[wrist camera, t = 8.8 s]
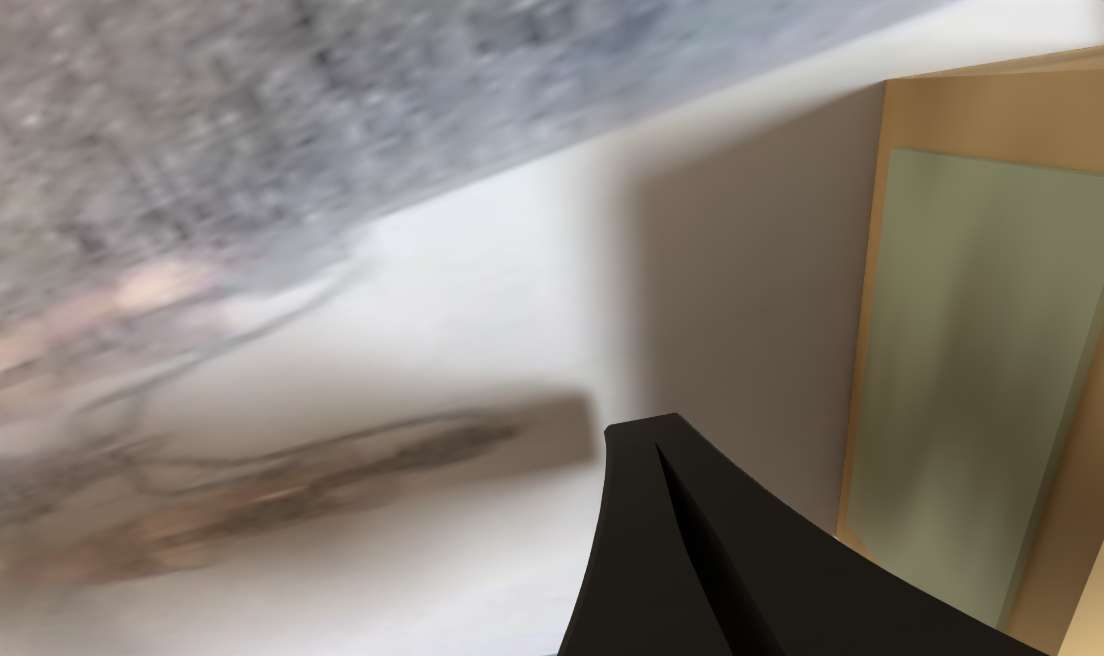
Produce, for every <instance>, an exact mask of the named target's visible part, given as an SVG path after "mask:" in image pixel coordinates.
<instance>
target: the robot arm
mask: <svg viewBox="0 0 1104 656" xmlns="http://www.w3.org/2000/svg"><path fill="white" fill-rule="evenodd" d="M604 435H605V441H606V470H605V481H604V487H603V494H602V501H601V508H600V513H599V518H598V523H597V527H596V531H595V536H594V540H593V544H592V549H591V553H590V557H589V561H588V565H587V568H586V572H585V575H584V579H583V582H582V585H581V589H580V592H579V595H578V598H577V601H576V604H575V607H574V610H573V613H572V616H571V619H570V622H569V625H568V627H567V630H566V633H565V635H564V638H563V641H562V643H561V646H560V649H559V651H558V654H557V656H1050V655H1048V654H1046V653H1044V652H1041V651H1039V650H1037V649H1035V648H1033V647H1031V646H1029V645H1027V644H1025V643H1022V642H1020V641H1018V640H1016V639H1014V638H1012V637H1010V636H1008V635H1006V634H1004V633H1002V632H1000V631H998V630H996V629H994V628H992V627H990V626H988V625H986V624H984V623H982V622H981V621H979V620H977V619H975V618H973V617H971V616H969V615H967V614H966V613H964V612H962V611H960V610H958V609H956V608H954V607H952V606H950V605H949V604H947V603H945V602H943V601H941V600H939V599H937V598H935V597H934V596H932V595H930V594H928V593H926V592H924V591H922V590H920V589H918V588H917V587H915V586H913V585H911V584H909V583H908V582H906V581H904V580H902V579H901V578H899V577H897V576H895V575H894V574H892V573H890V572H888V571H887V570H885V569H883V568H881V567H880V566H878V565H877V564H875V563H873V562H872V561H870V560H868V559H867V558H865V557H864V556H862V555H860V554H859V553H857V552H855V551H854V550H852V549H851V548H849V547H847V546H846V545H844V544H843V543H841V542H840V541H838V540H837V539H835V538H834V537H832V536H831V535H829V534H828V533H826V532H825V531H823V530H822V529H820V528H819V527H817V526H816V525H814V524H813V523H811V522H810V521H809V520H807V519H806V518H804V517H803V516H802V515H800V514H799V513H797V512H796V511H795V510H793V509H792V508H791V507H789V506H788V505H786V504H785V503H784V502H782V501H781V500H780V499H778V498H777V497H776V496H774V495H773V494H772V493H770V492H769V491H768V490H766V489H765V488H764V487H763V486H761V485H760V484H759V483H758V482H756V481H755V480H754V479H753V478H751V477H750V476H749V475H748V474H746V473H745V472H744V471H743V470H741V469H740V468H739V467H738V466H736V465H735V464H734V463H733V462H732V461H731V460H729V459H728V458H727V457H726V456H725V455H723V454H722V453H721V452H720V451H719V450H718V449H717V448H715V447H714V446H713V445H712V444H711V443H710V442H709V441H708V440H706V439H705V438H704V437H703V436H702V435H701V434H700V433H699V432H698V431H697V430H696V429H695V428H693V427H692V426H691V425H690V424H689V423H688V422H687V421H686V420H685V419H684V418H683V417H682V416H680V415H679V414H677V413H672V414H667V415H661V416H656V417H650V418H645V419H639V420H634V421H628V422H623V423H618V424H612V425H609V426H608V427H607V428H606V430H605V431H604Z"/></svg>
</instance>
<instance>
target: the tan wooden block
mask: <svg viewBox="0 0 1104 656" xmlns="http://www.w3.org/2000/svg"><path fill="white" fill-rule="evenodd" d="M836 536H837V538H838V539H839V540H840V542H841V543H843V544H844V545H846V546H847V547H849V548H851V549H852V550H854V551H855V552H857V553H859V554H860V555H862V556H864V557H865V558H867V559H868V560H870V561H872V562H873V563H875V564H877V565H878V566H880V567H881V568H883V569H885V570H887V571H888V572H890V573H892V574H894V575H895V576H897V577H899V578H901V579H902V580H904V581H906V582H908V583H909V584H911V585H913V586H915V587H917V588H918V589H920V590H922V591H924V592H926V593H928V594H930V595H932V596H934V597H935V598H937V599H939V600H941V601H943V602H945V603H947V604H949V605H950V606H952V607H954V608H956V609H958V610H960V611H962V612H964V613H966V614H967V615H969V616H971V617H973V618H975V619H977V620H979V621H981V622H982V623H984V624H986V625H988V626H990V627H992V628H994V629H996V630H998V631H1000V632H1002V633H1004V634H1006V635H1008V636H1010V637H1012V638H1014V639H1016V640H1018V641H1020V642H1022V643H1025V644H1027V645H1029V646H1031V647H1033V648H1035V649H1037V650H1039V651H1041V652H1044V653H1046V654H1048V655H1050V656H1104V45H1103V46H1096V47H1090V48H1084V49H1077V50H1071V51H1065V52H1058V53H1052V54H1046V55H1039V56H1033V57H1027V58H1020V59H1014V60H1008V61H1002V62H995V63H989V64H983V65H976V66H970V67H964V68H957V69H951V70H945V71H938V72H932V73H926V74H920V75H913V76H907V77H901V78H894V79H888V80H886V84H885V93H884V102H883V111H882V121H881V130H880V139H879V148H878V157H877V166H876V175H875V184H874V193H873V203H872V212H871V221H870V230H869V239H868V248H867V257H866V266H865V275H864V285H863V294H862V303H861V312H860V321H859V330H858V339H857V348H856V357H855V367H854V376H853V385H852V394H851V403H850V412H849V421H848V430H847V439H846V449H845V458H844V467H843V476H842V485H841V494H840V503H839V512H838V521H837V531H836Z"/></svg>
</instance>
